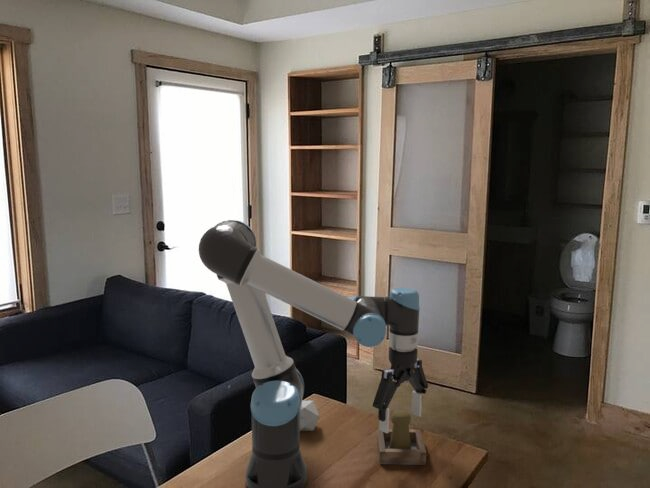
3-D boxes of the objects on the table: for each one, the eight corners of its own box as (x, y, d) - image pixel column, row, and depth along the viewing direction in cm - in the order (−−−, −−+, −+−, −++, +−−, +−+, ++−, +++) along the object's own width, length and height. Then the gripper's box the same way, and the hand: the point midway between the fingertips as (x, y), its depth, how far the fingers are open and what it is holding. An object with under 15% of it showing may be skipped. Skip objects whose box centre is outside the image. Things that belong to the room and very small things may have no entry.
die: (284, 427, 161) (283, 411, 154) (302, 404, 166) (301, 388, 159) (307, 443, 158) (307, 428, 150) (324, 419, 163) (325, 403, 156)
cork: (411, 457, 142) (412, 418, 141) (388, 455, 144) (389, 416, 142) (411, 445, 148) (413, 408, 147) (389, 443, 149) (390, 406, 148)
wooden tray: (379, 464, 140) (379, 451, 140) (377, 440, 152) (377, 428, 152) (425, 465, 140) (426, 452, 139) (419, 441, 152) (420, 429, 151)
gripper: (382, 362, 130) (380, 444, 134) (443, 340, 147) (439, 413, 150) (360, 354, 136) (358, 432, 139) (420, 333, 152) (417, 404, 156)
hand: (400, 422), depth 145 cm, fingers open, 13 cm apart
